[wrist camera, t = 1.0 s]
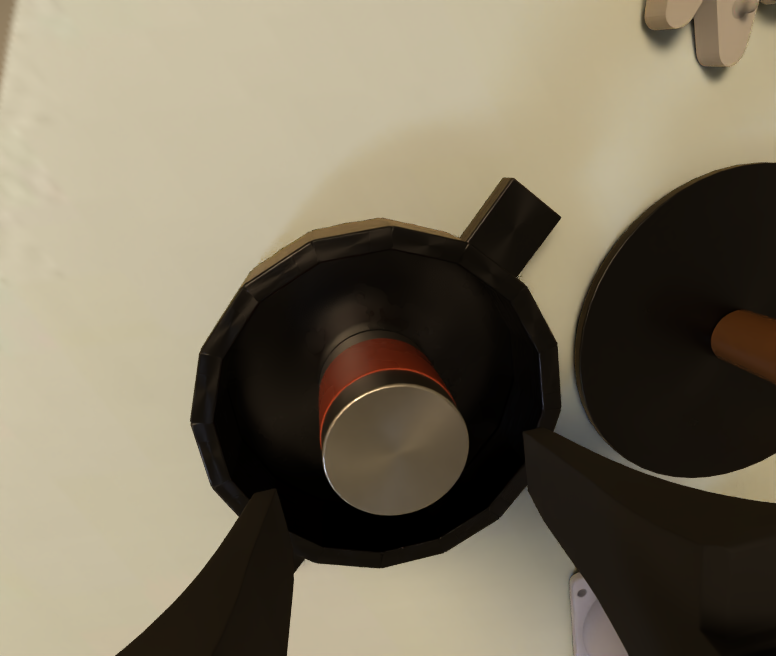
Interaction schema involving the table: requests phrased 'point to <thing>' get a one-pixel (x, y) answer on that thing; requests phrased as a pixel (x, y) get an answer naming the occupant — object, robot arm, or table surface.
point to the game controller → (709, 25)
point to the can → (388, 425)
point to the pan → (395, 314)
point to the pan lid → (688, 329)
